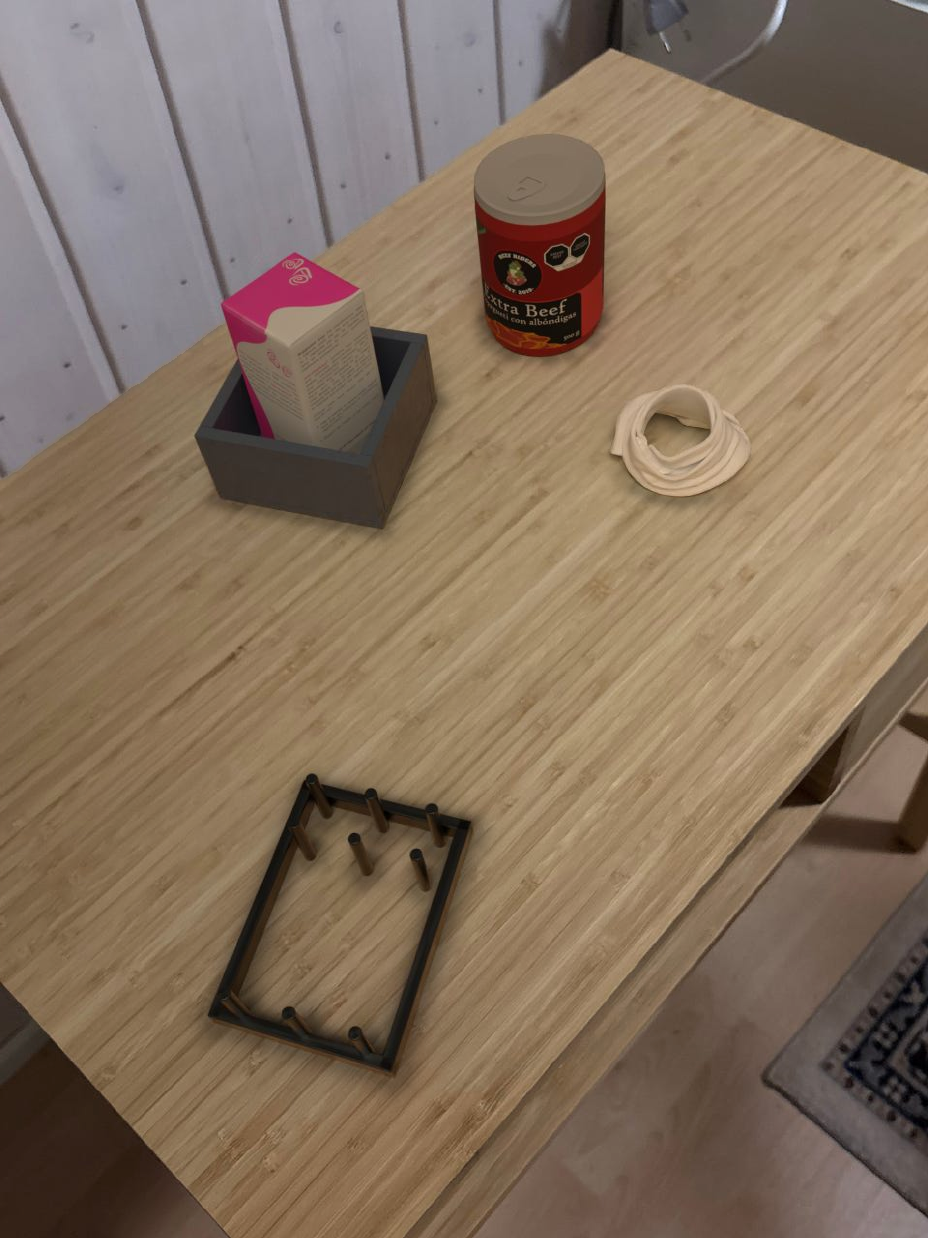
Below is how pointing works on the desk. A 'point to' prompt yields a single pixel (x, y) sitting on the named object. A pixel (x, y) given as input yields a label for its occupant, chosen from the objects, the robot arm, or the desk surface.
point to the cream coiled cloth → (693, 465)
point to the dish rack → (312, 791)
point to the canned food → (541, 242)
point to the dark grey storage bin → (323, 474)
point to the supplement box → (306, 355)
